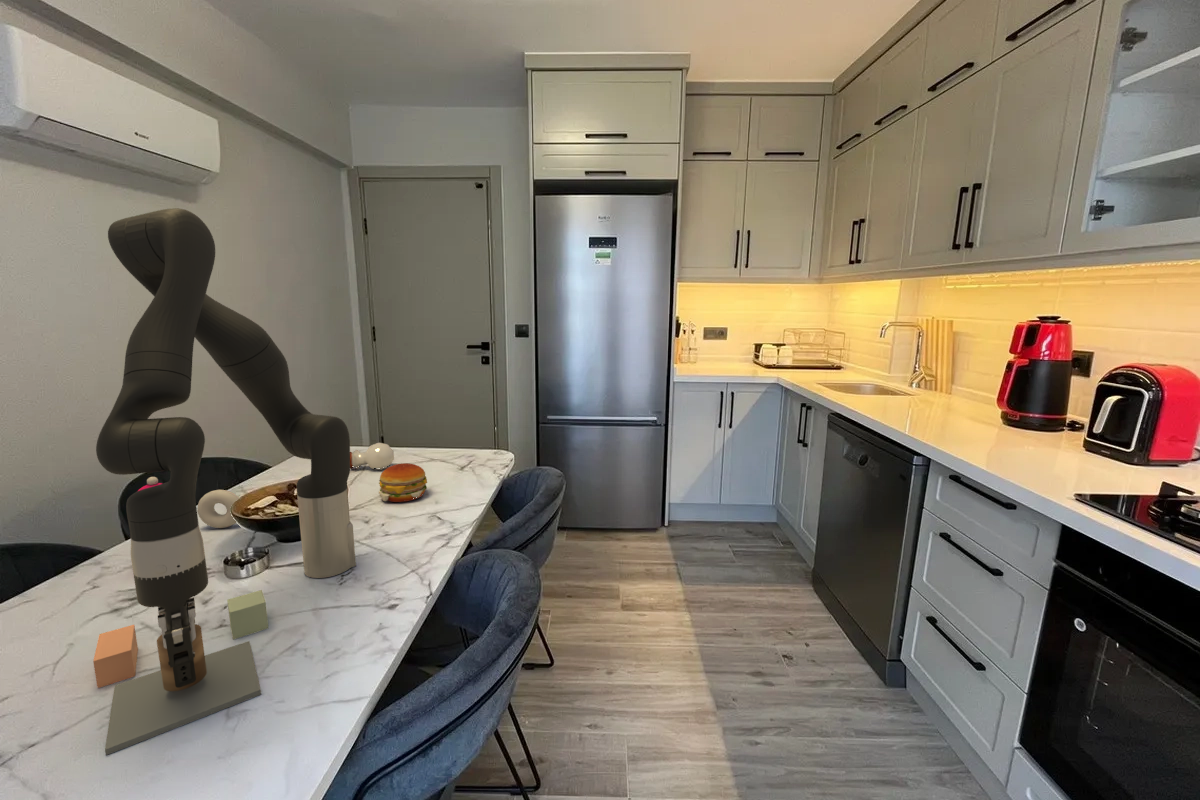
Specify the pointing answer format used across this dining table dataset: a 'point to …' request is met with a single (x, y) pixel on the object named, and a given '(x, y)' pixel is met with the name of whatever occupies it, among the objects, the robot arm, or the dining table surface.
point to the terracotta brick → (115, 656)
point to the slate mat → (180, 698)
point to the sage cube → (247, 614)
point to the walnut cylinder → (163, 654)
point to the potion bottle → (373, 457)
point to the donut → (208, 511)
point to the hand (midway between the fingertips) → (185, 672)
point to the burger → (402, 482)
